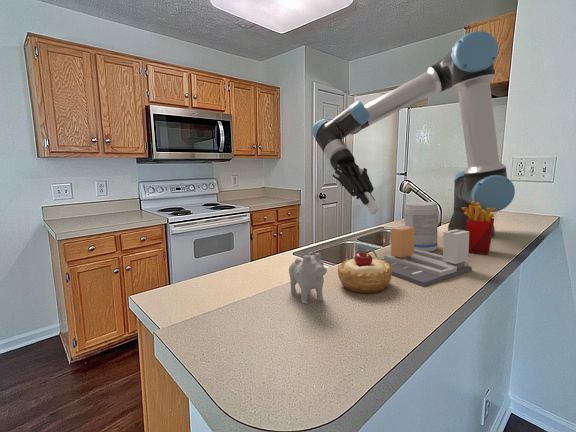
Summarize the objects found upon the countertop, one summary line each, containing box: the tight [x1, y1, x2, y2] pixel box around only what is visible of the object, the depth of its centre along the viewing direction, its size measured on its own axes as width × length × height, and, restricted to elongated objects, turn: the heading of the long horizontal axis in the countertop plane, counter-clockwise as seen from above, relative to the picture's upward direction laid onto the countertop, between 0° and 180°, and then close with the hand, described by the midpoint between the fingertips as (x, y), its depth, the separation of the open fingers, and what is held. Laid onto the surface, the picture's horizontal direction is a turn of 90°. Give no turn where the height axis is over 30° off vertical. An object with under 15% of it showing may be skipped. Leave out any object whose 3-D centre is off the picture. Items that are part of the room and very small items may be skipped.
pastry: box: [337, 248, 393, 294], centre depth 74 cm, size 12×12×9 cm
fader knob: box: [390, 225, 414, 260], centre depth 88 cm, size 5×4×9 cm
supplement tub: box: [404, 201, 439, 253], centre depth 101 cm, size 10×10×15 cm
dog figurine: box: [288, 252, 328, 305], centre depth 68 cm, size 5×13×11 cm, turn 22°
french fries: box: [462, 201, 495, 256], centre depth 95 cm, size 9×8×15 cm
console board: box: [380, 229, 473, 287], centre depth 83 cm, size 18×18×10 cm
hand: (375, 211), depth 95 cm, fingers closed
